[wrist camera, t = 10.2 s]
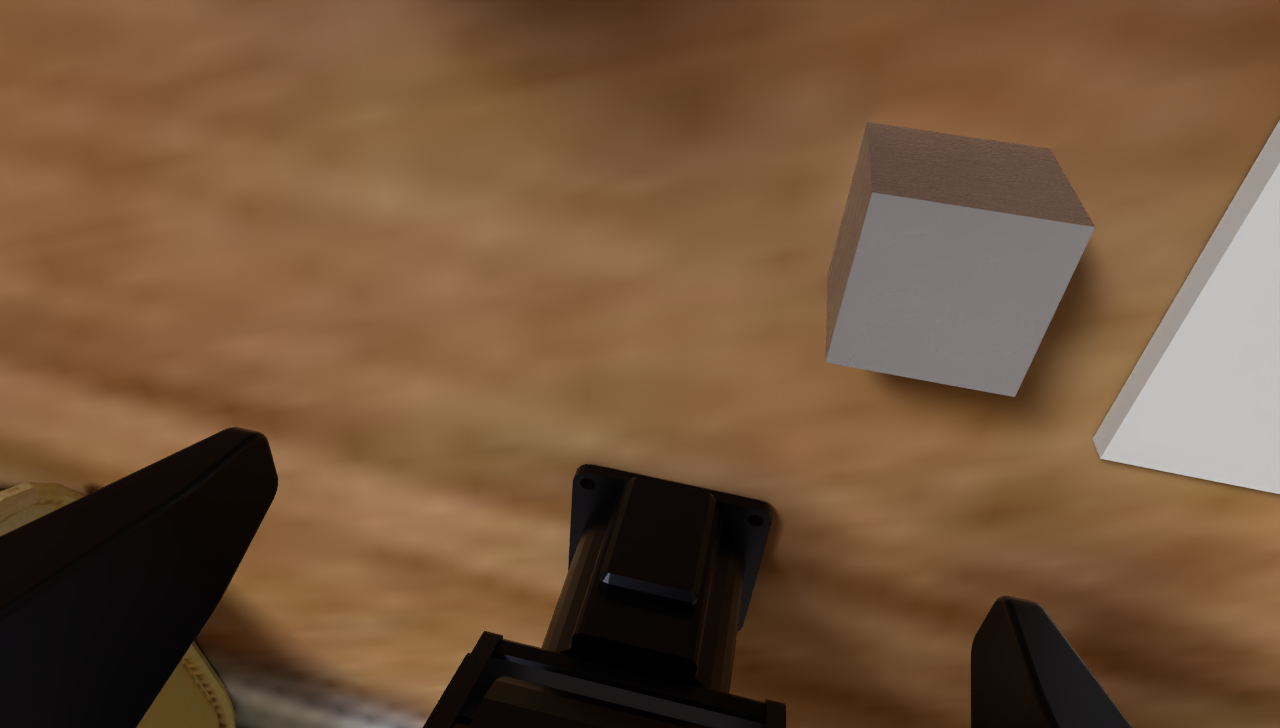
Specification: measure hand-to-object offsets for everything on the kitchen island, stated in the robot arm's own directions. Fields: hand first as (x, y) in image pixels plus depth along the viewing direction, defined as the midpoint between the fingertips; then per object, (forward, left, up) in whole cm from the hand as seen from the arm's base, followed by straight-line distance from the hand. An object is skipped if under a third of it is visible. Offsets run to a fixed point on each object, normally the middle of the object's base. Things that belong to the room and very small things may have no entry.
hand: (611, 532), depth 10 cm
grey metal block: (-1, -5, -12) cm, 13 cm away
